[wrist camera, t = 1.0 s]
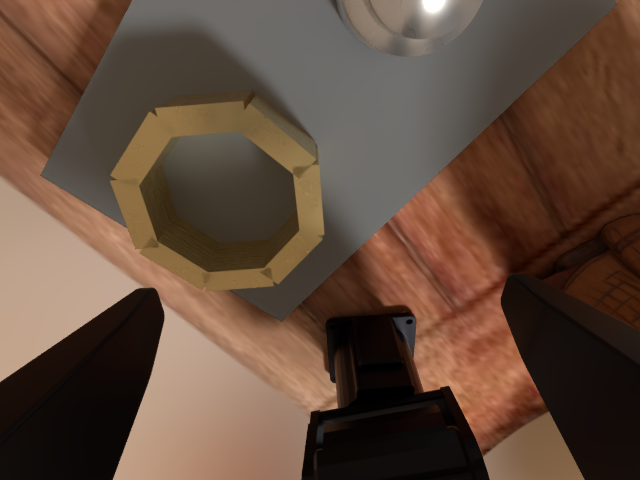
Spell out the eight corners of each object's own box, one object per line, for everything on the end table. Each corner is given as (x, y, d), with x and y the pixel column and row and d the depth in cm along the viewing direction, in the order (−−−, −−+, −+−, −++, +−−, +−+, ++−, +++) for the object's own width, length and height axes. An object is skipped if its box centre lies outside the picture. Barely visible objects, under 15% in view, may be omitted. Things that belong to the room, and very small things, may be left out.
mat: (282, 307, 26) (281, 321, 25) (57, 166, 21) (40, 175, 19) (594, 6, 18) (617, 4, 16) (350, -377, 12) (356, -426, 11)
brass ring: (325, 252, 22) (327, 282, 20) (170, 264, 22) (152, 295, 20) (313, 85, 18) (314, 95, 15) (117, 101, 18) (84, 113, 15)
